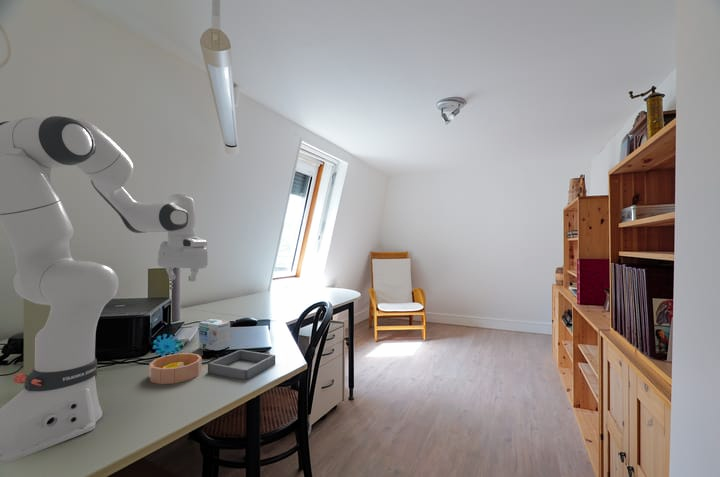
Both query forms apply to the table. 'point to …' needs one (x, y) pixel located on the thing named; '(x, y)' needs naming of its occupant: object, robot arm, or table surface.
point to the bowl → (175, 374)
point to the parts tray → (222, 369)
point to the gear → (167, 345)
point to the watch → (174, 365)
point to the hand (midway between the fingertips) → (181, 280)
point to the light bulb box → (213, 332)
